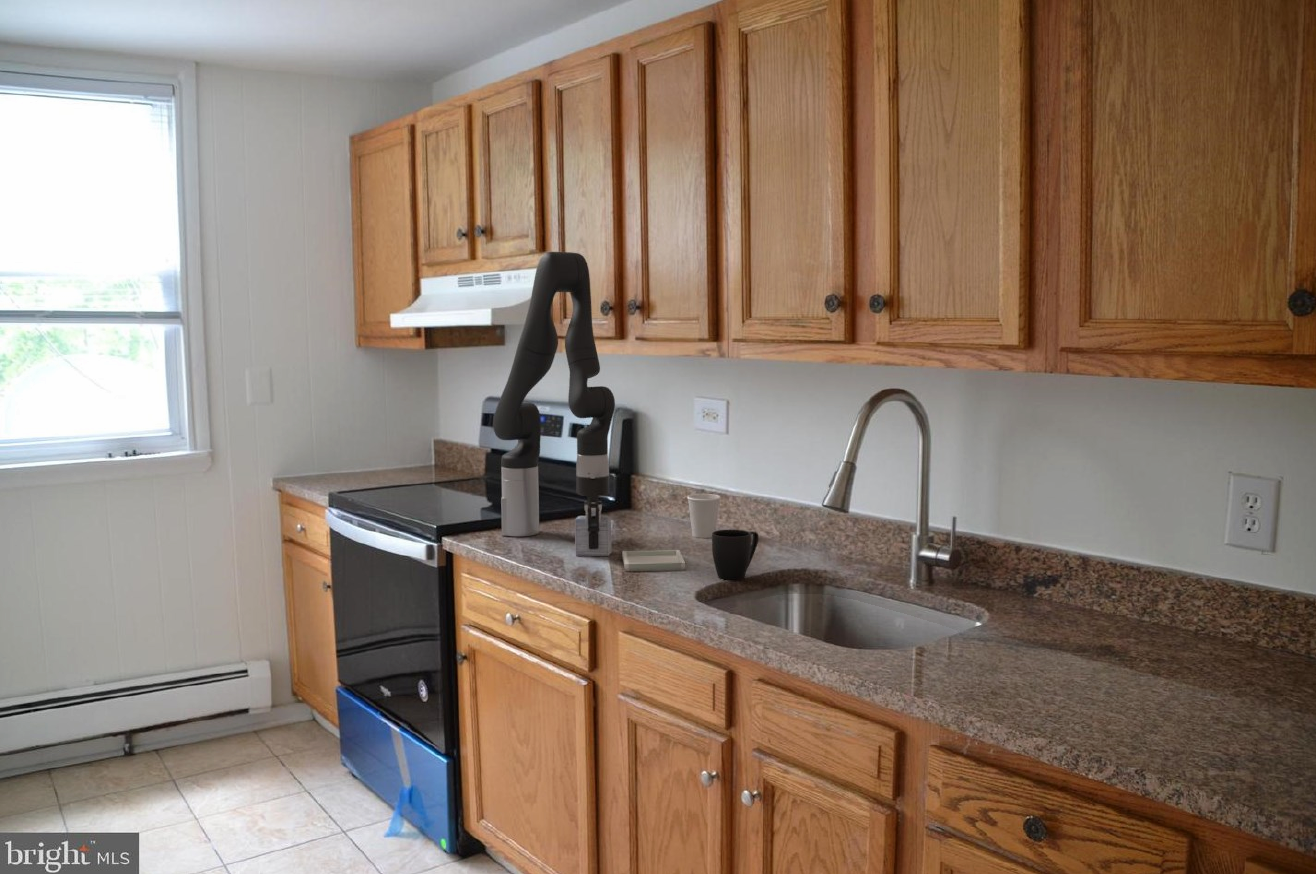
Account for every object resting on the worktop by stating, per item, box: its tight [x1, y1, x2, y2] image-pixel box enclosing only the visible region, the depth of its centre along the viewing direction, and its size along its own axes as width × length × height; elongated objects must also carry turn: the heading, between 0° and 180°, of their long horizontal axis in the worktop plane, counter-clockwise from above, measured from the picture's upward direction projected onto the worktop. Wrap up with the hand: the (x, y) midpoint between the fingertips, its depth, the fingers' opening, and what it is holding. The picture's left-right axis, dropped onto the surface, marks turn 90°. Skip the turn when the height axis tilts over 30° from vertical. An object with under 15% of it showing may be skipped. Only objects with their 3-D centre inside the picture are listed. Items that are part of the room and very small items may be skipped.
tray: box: [621, 549, 686, 572], centre depth 236 cm, size 13×13×2 cm
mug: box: [711, 529, 759, 582], centre depth 224 cm, size 8×12×10 cm
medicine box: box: [574, 515, 612, 557], centre depth 245 cm, size 8×4×9 cm, turn 84°
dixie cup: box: [687, 493, 722, 539], centre depth 266 cm, size 8×8×10 cm
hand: (593, 546), depth 245 cm, fingers closed on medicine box, 5 cm apart
